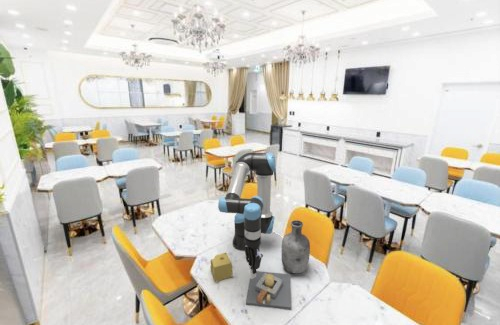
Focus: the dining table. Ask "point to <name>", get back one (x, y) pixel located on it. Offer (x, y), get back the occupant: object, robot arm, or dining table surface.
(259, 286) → the handled square frame
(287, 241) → the vase
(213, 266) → the cheese
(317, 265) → the dining table surface
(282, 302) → the jig
